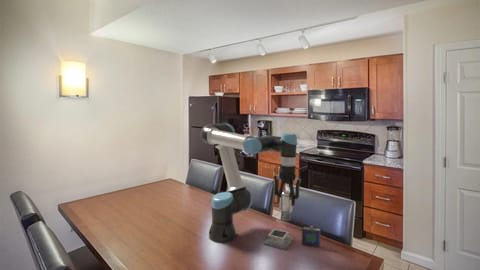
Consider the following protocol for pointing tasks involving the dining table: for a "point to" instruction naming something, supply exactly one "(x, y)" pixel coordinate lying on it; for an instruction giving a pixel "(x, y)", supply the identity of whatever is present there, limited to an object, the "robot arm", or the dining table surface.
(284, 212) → the silver canister
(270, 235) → the duct collar
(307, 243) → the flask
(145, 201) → the dining table surface
